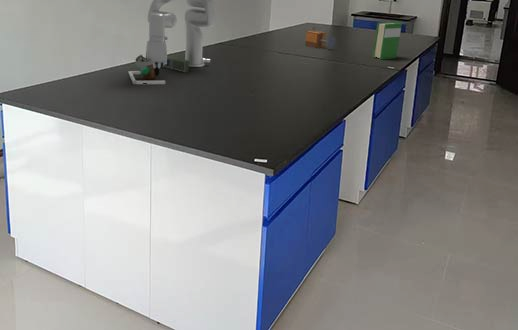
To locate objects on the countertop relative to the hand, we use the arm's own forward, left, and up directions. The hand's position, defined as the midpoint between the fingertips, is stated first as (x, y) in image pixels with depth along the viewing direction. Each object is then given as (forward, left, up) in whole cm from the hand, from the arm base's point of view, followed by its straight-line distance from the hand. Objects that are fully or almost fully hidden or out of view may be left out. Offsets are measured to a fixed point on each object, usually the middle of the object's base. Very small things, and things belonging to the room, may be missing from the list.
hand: (156, 75), depth 285 cm
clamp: (-137, -104, -2) cm, 172 cm away
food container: (+4, -1, -1) cm, 5 cm away
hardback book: (-171, -68, -2) cm, 184 cm away
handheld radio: (-12, -27, -2) cm, 29 cm away
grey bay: (+4, -1, -2) cm, 5 cm away
